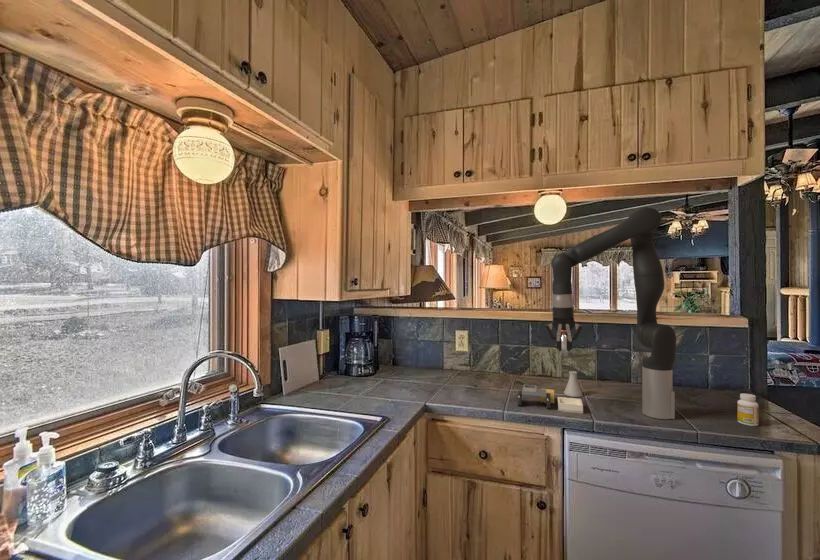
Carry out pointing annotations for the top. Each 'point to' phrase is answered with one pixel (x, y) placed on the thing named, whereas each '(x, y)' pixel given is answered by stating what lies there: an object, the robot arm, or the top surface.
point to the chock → (543, 398)
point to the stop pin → (564, 343)
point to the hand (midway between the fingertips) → (564, 350)
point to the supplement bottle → (747, 410)
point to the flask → (573, 386)
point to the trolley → (534, 391)
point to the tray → (570, 405)
